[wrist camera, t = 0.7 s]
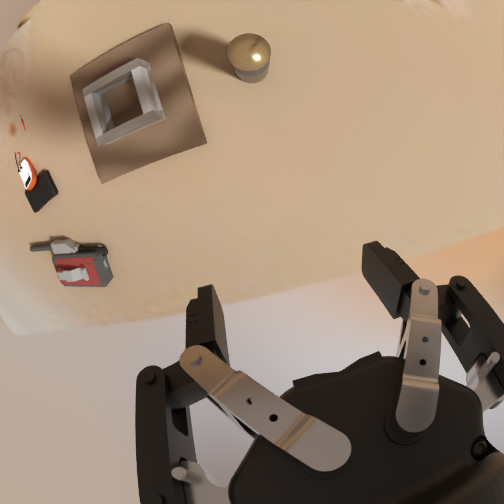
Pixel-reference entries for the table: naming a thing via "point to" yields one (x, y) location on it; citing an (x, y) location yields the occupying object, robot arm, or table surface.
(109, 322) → the table surface
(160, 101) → the dock board
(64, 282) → the walkie-talkie
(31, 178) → the multimeter
